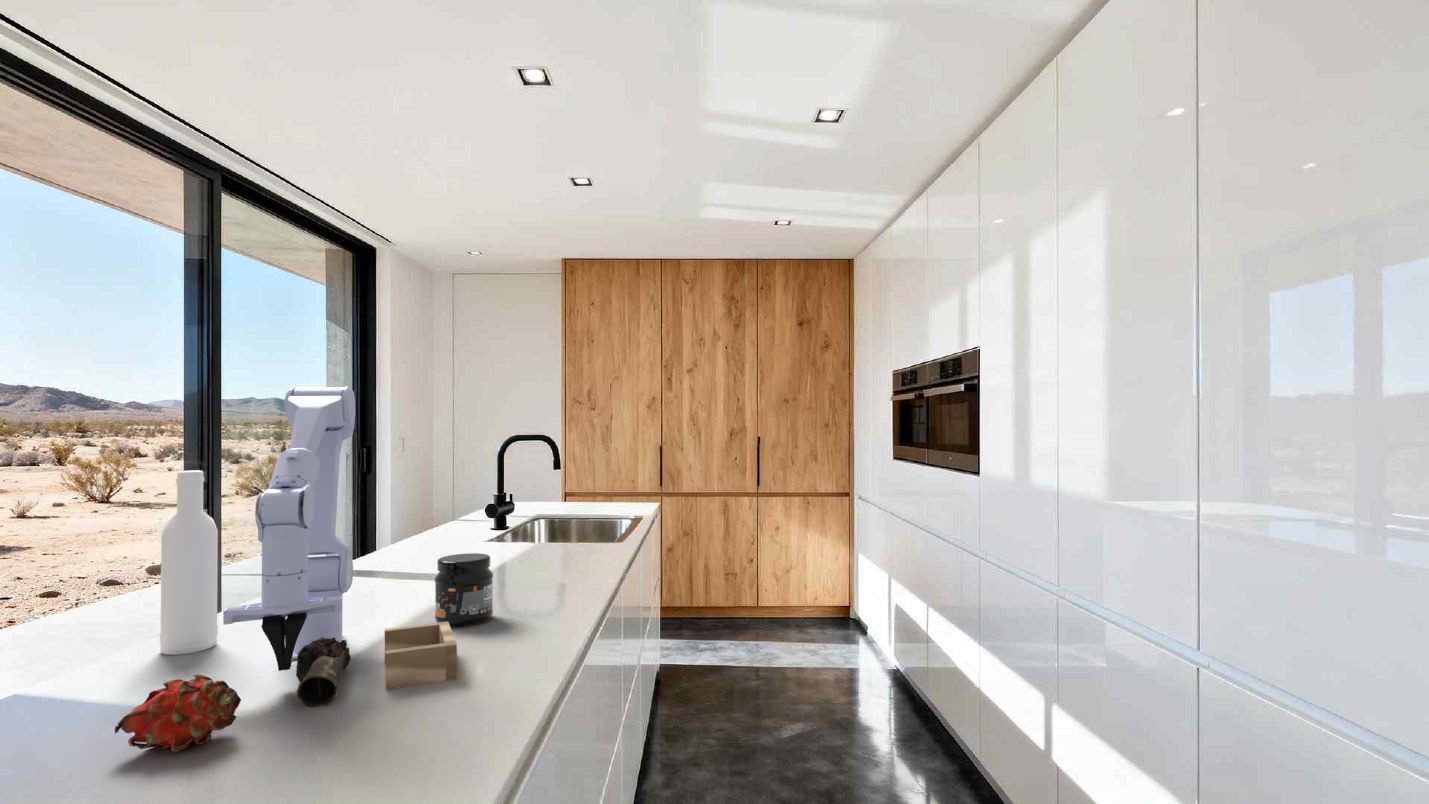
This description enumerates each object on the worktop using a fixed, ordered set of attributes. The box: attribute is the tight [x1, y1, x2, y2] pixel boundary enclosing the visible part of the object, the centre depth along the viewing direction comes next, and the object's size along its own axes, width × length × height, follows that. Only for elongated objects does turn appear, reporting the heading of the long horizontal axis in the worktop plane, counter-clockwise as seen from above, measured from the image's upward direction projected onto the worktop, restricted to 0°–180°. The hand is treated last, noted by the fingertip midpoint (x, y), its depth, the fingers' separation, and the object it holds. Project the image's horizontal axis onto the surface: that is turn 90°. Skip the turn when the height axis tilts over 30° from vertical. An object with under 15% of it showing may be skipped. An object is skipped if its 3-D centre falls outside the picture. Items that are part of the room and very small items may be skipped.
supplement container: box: [434, 552, 494, 628], centre depth 138 cm, size 10×10×12 cm
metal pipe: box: [295, 637, 352, 708], centre depth 105 cm, size 18×7×6 cm, turn 20°
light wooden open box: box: [384, 621, 458, 690], centre depth 111 cm, size 14×10×5 cm
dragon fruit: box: [114, 673, 242, 754], centre depth 85 cm, size 8×8×12 cm
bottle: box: [159, 469, 219, 656], centre depth 124 cm, size 8×8×30 cm
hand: (284, 668), depth 103 cm, fingers closed
